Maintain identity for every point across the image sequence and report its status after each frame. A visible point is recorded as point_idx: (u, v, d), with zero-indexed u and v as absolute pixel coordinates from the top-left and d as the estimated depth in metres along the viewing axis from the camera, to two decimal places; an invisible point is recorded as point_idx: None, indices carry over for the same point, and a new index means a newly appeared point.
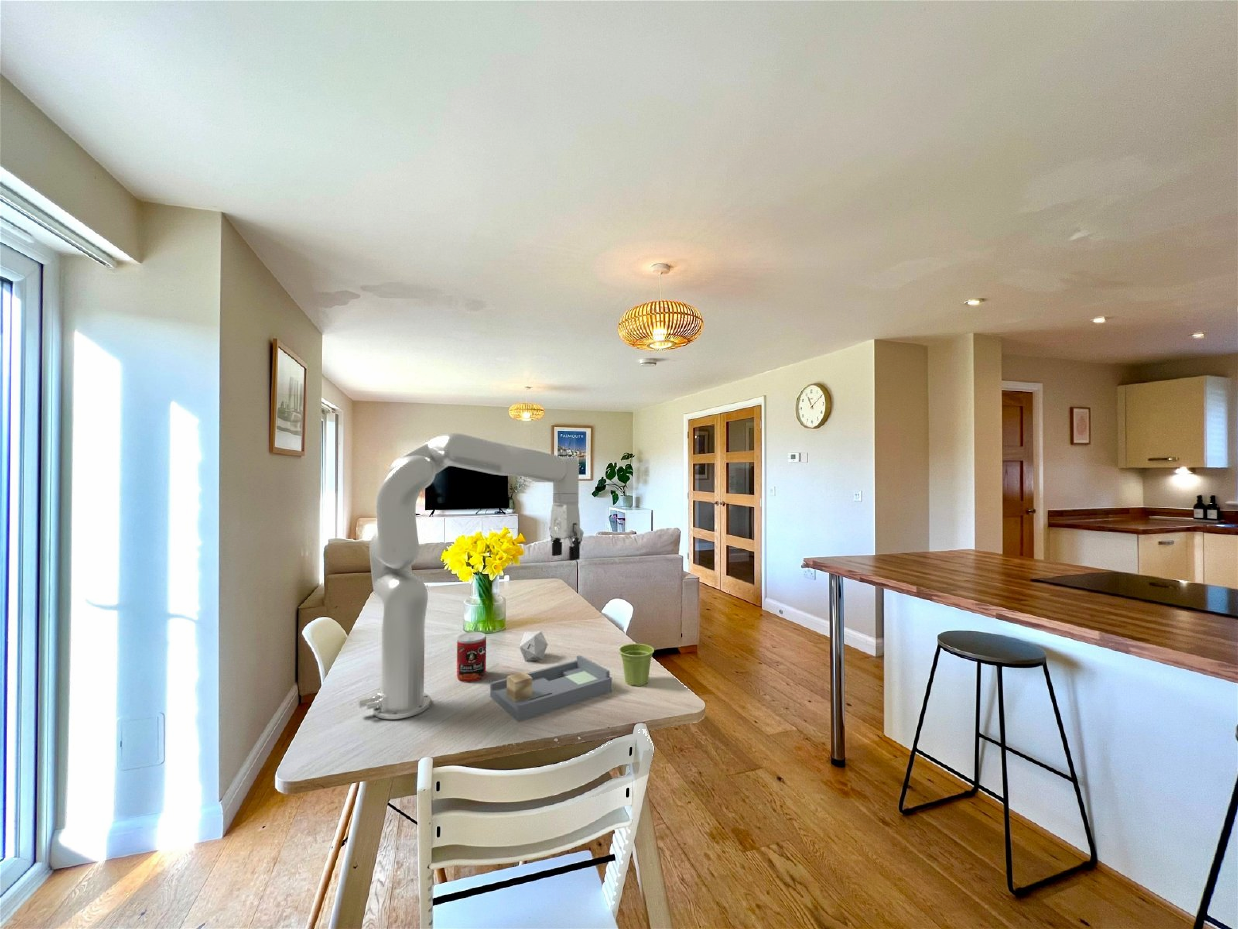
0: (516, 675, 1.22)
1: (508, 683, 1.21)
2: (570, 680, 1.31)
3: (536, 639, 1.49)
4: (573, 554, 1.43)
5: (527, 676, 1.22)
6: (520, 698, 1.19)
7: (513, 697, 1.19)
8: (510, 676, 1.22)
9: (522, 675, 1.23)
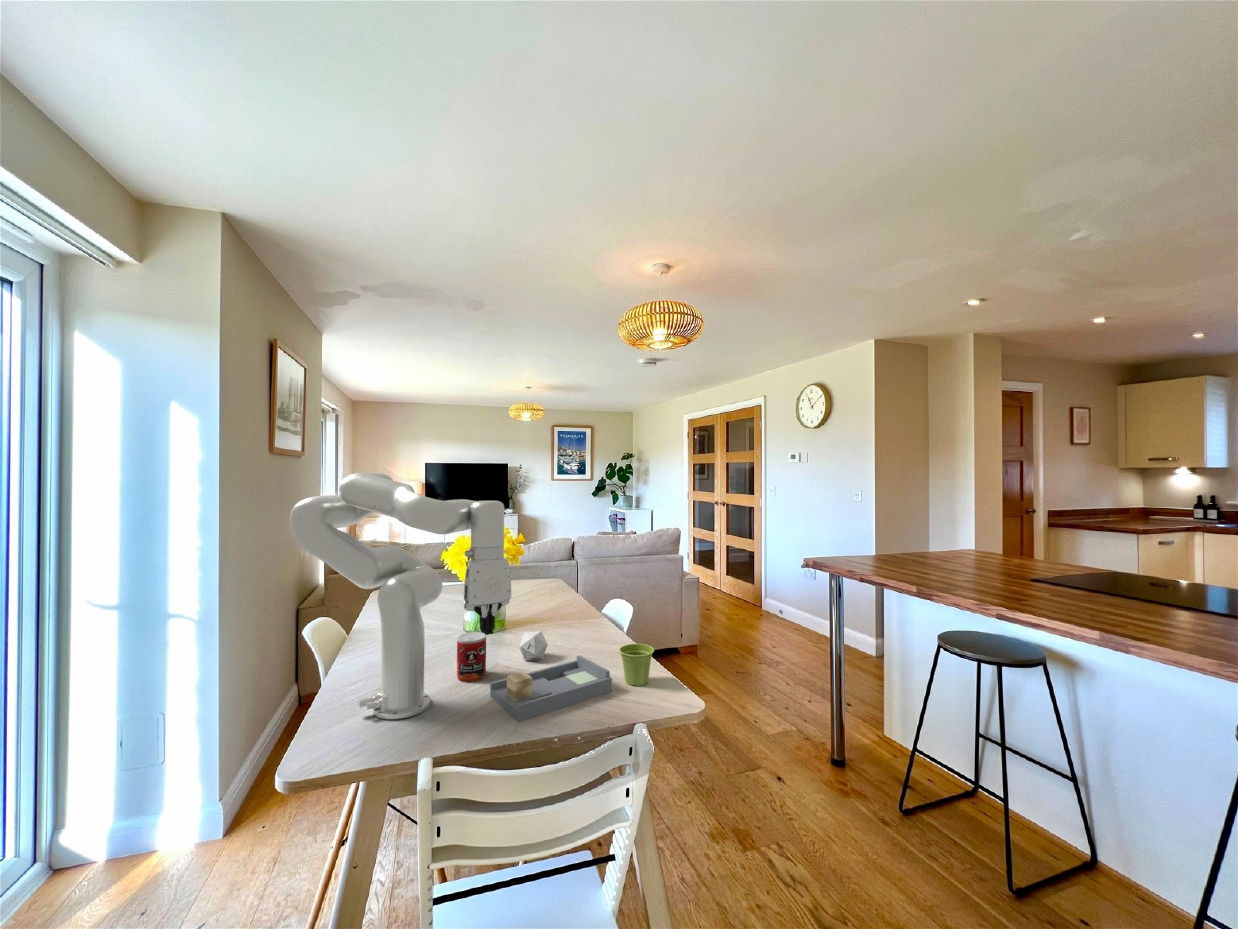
0: (516, 675, 1.22)
1: (508, 683, 1.21)
2: (570, 680, 1.31)
3: (536, 639, 1.49)
4: (493, 625, 1.17)
5: (527, 676, 1.22)
6: (520, 698, 1.19)
7: (513, 697, 1.19)
8: (510, 676, 1.22)
9: (522, 675, 1.23)
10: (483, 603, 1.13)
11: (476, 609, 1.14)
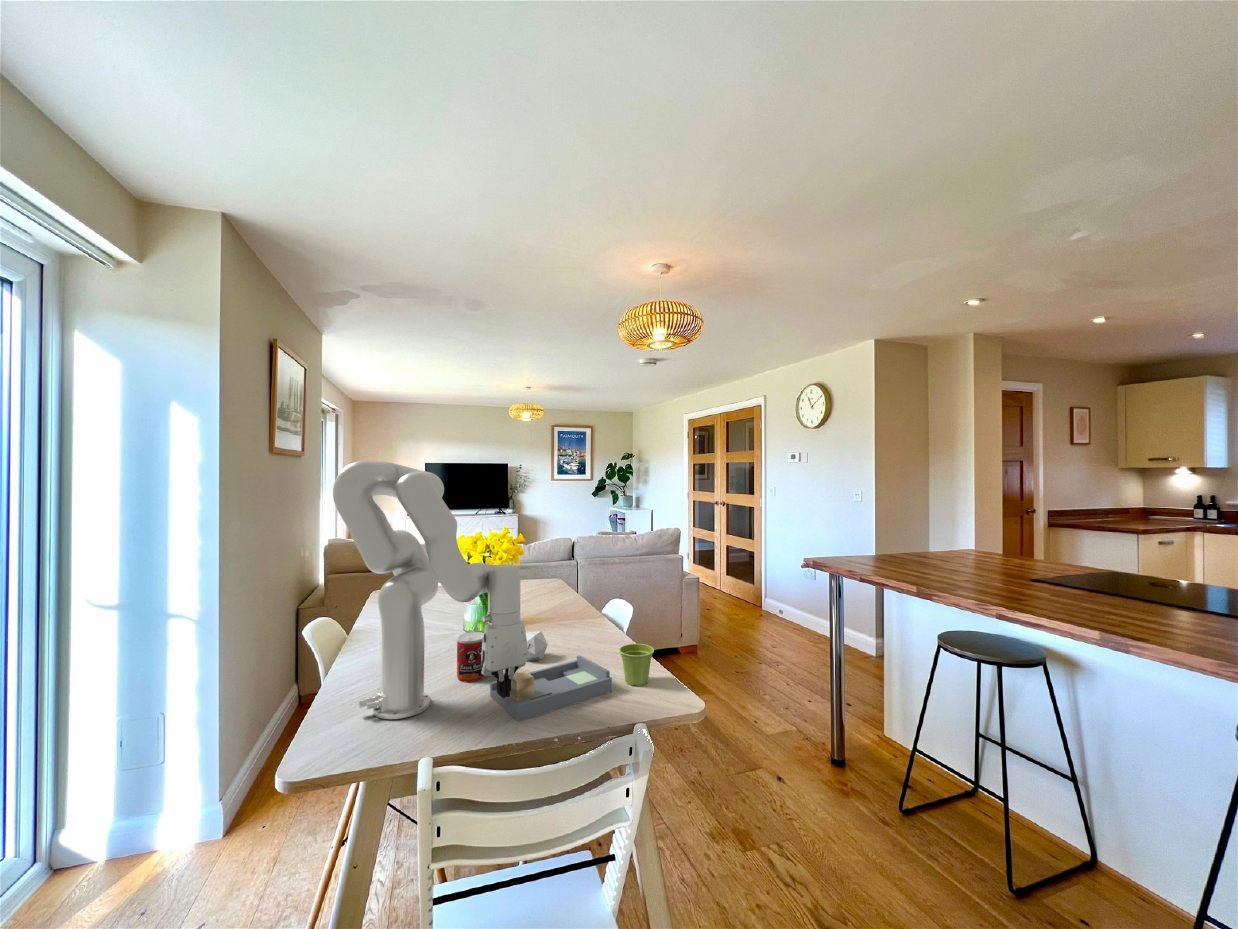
0: (517, 675, 1.23)
1: None
2: (570, 680, 1.31)
3: (536, 639, 1.49)
4: (509, 688, 1.19)
5: (529, 675, 1.22)
6: (522, 697, 1.20)
7: (515, 696, 1.19)
8: None
9: (523, 674, 1.23)
10: (500, 668, 1.16)
11: (493, 673, 1.17)
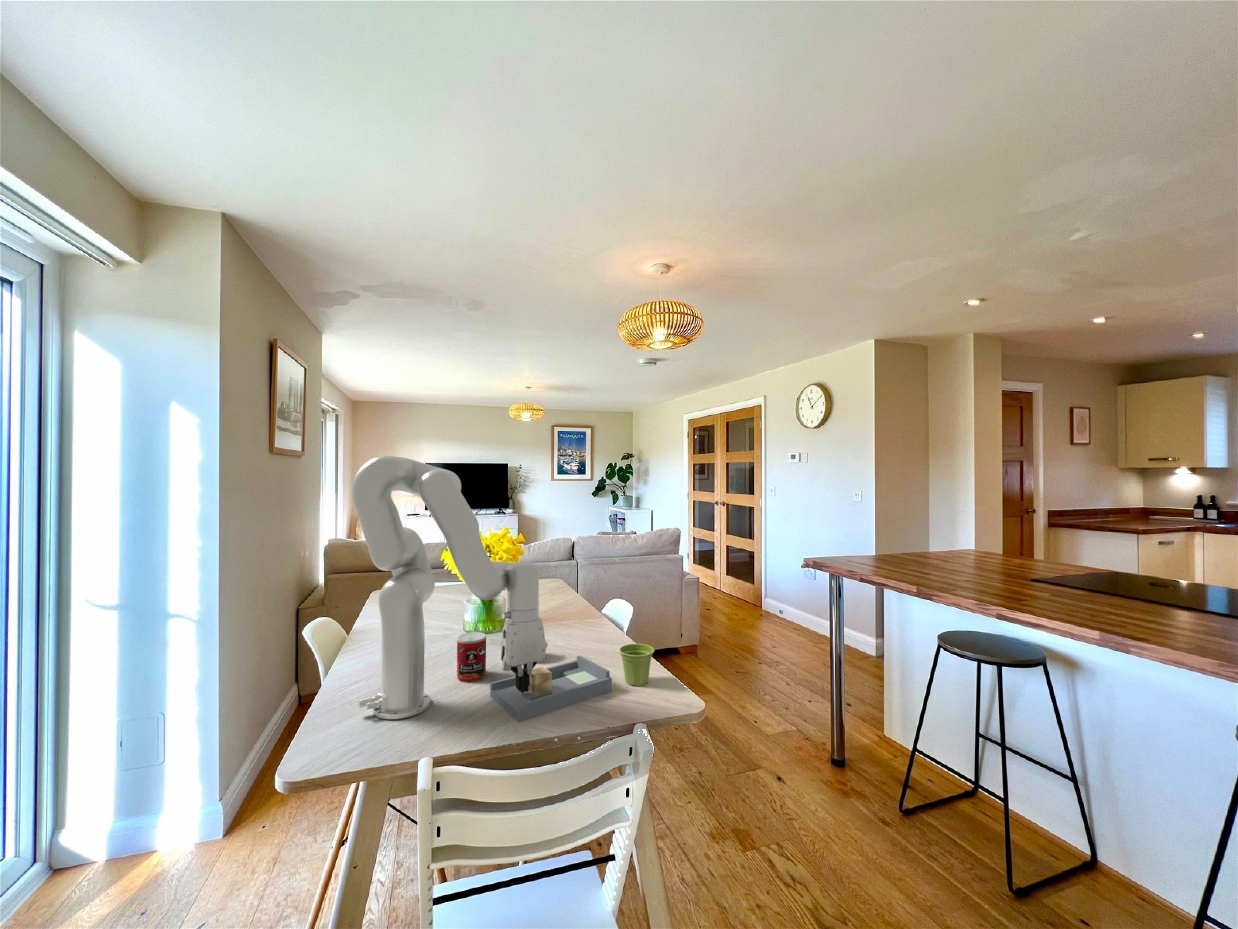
0: (535, 670, 1.26)
1: None
2: (570, 680, 1.31)
3: None
4: None
5: (547, 670, 1.25)
6: (540, 692, 1.23)
7: (533, 691, 1.22)
8: None
9: (541, 670, 1.26)
10: (520, 663, 1.19)
11: (513, 669, 1.20)
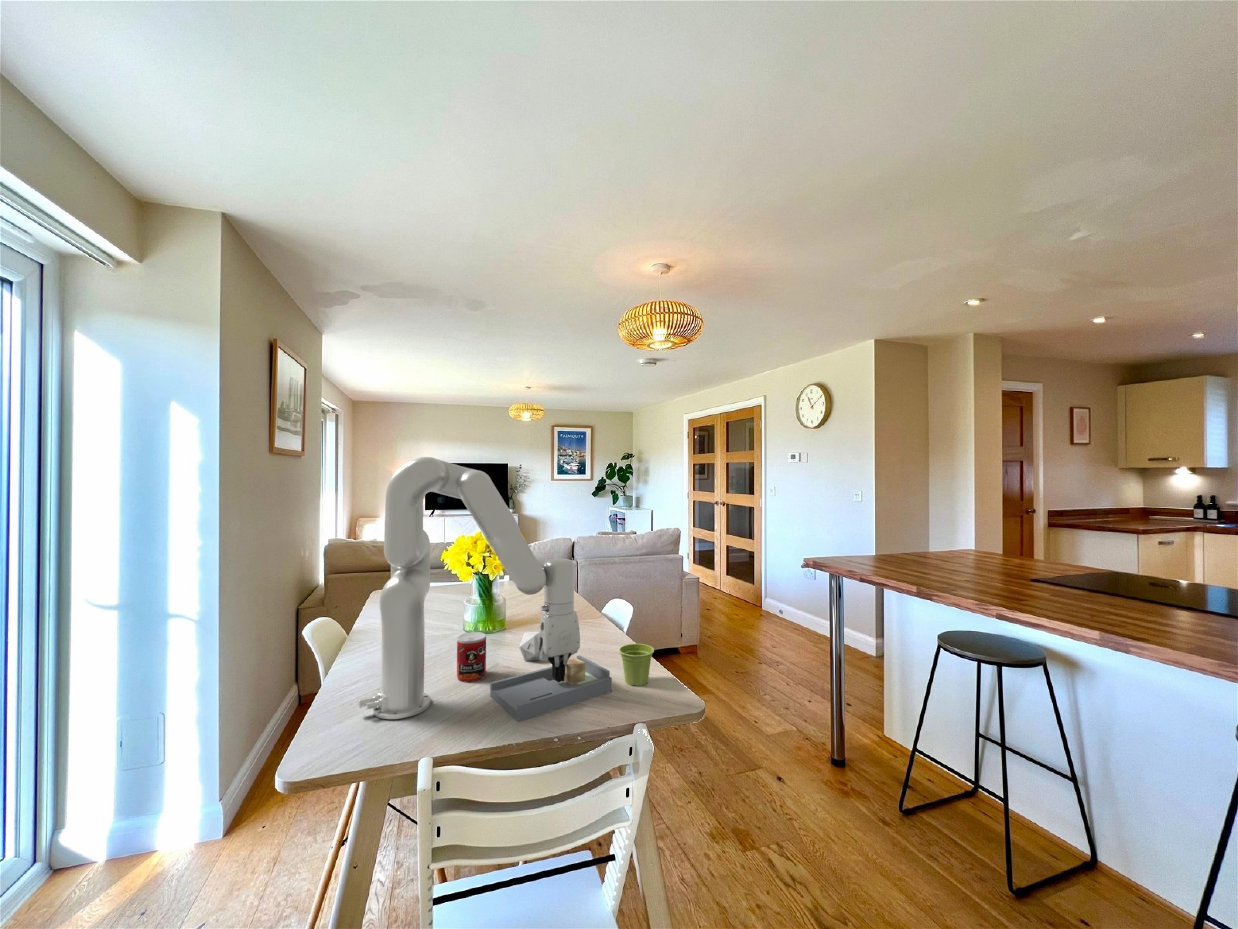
0: (569, 661, 1.32)
1: None
2: None
3: (536, 639, 1.49)
4: None
5: (580, 661, 1.32)
6: (575, 681, 1.29)
7: (569, 681, 1.29)
8: None
9: (575, 660, 1.32)
10: (557, 654, 1.25)
11: (550, 659, 1.26)
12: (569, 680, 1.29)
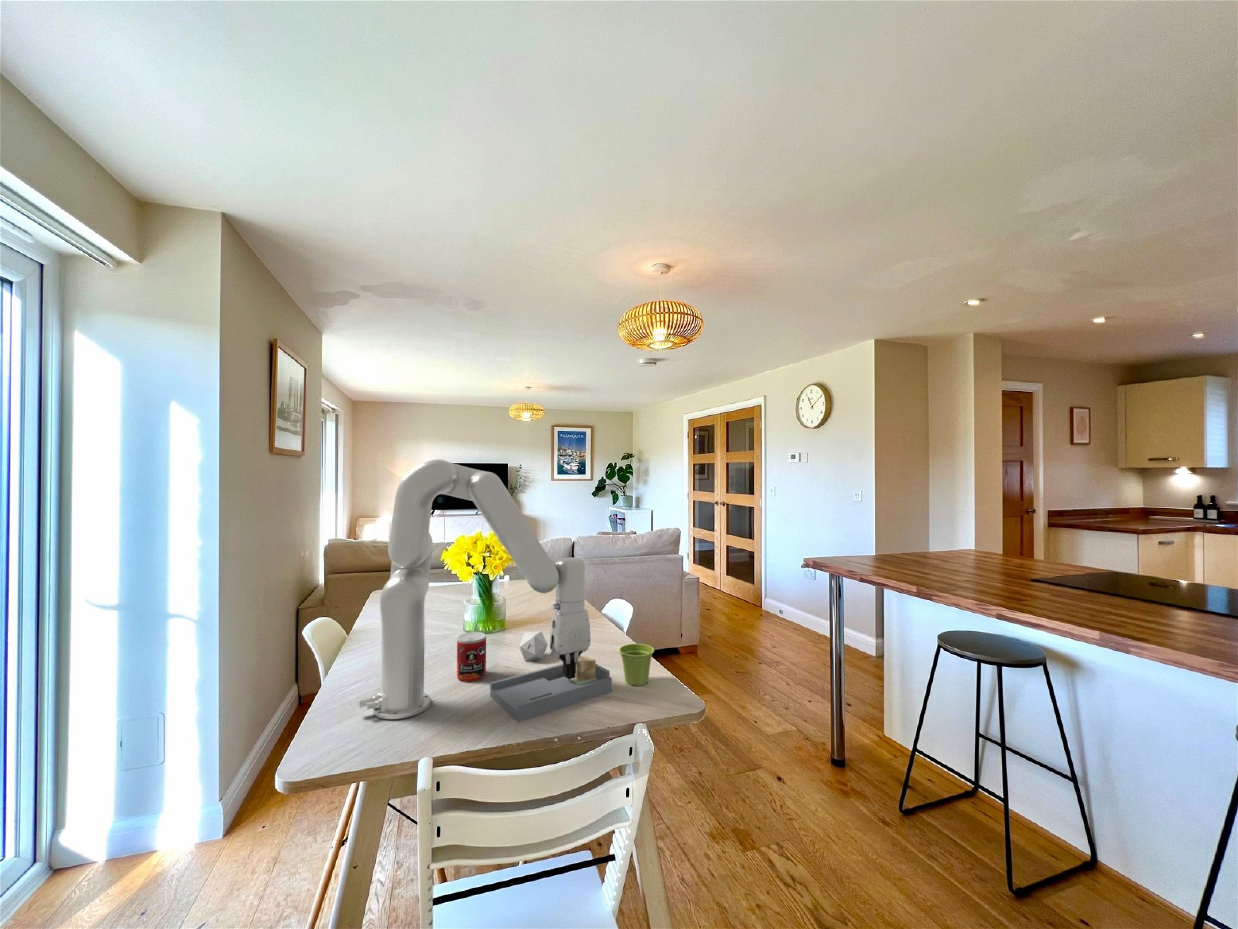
0: (580, 658, 1.34)
1: None
2: (570, 680, 1.31)
3: (536, 639, 1.49)
4: None
5: (591, 659, 1.34)
6: (585, 679, 1.31)
7: (579, 678, 1.31)
8: None
9: (585, 658, 1.34)
10: (568, 652, 1.27)
11: (561, 657, 1.28)
12: (579, 677, 1.30)
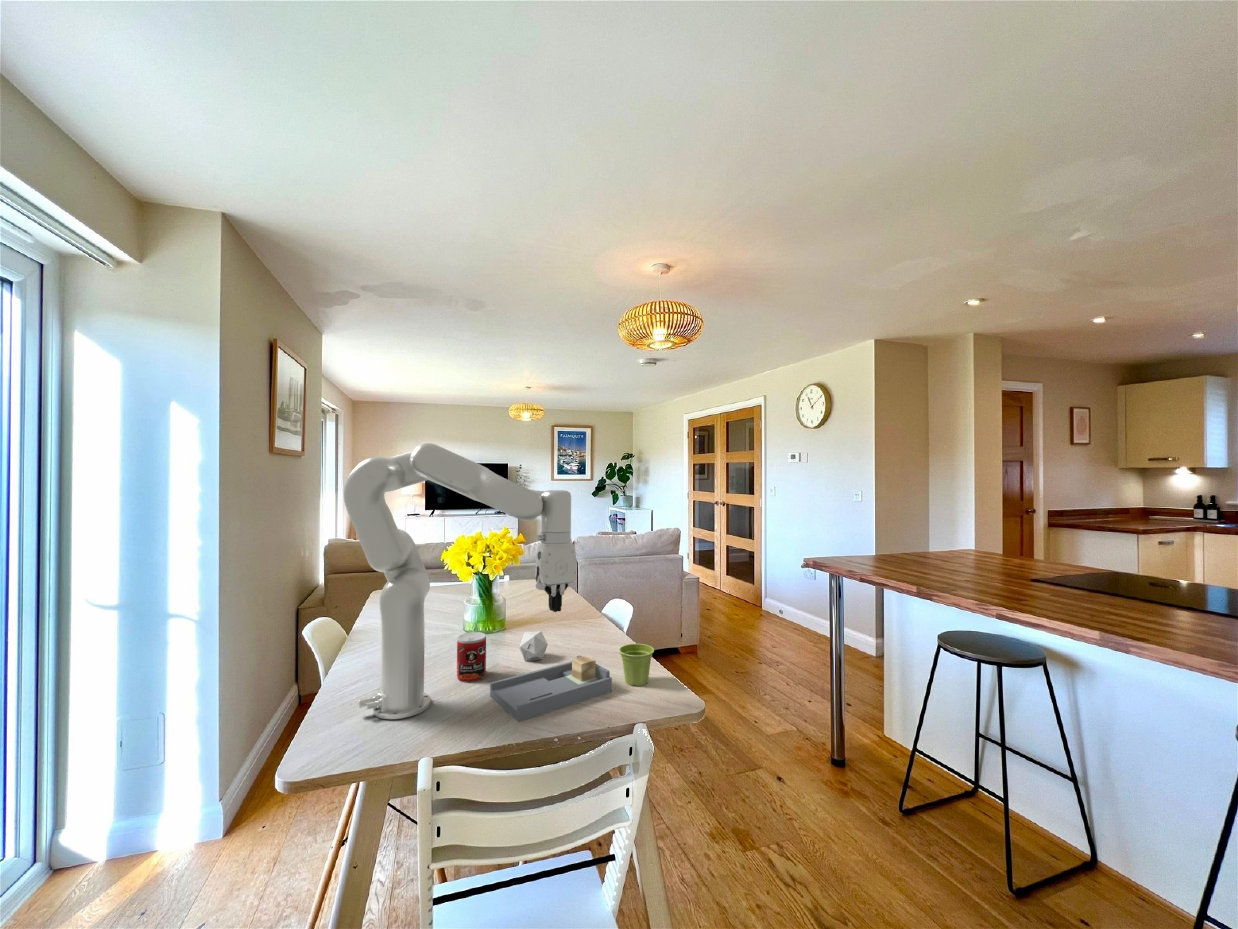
0: (580, 658, 1.34)
1: (573, 665, 1.33)
2: (570, 680, 1.31)
3: (536, 639, 1.49)
4: None
5: (591, 659, 1.34)
6: (585, 679, 1.31)
7: (579, 678, 1.31)
8: (575, 659, 1.33)
9: (585, 658, 1.34)
10: (553, 583, 1.25)
11: (547, 588, 1.26)
12: (579, 677, 1.30)
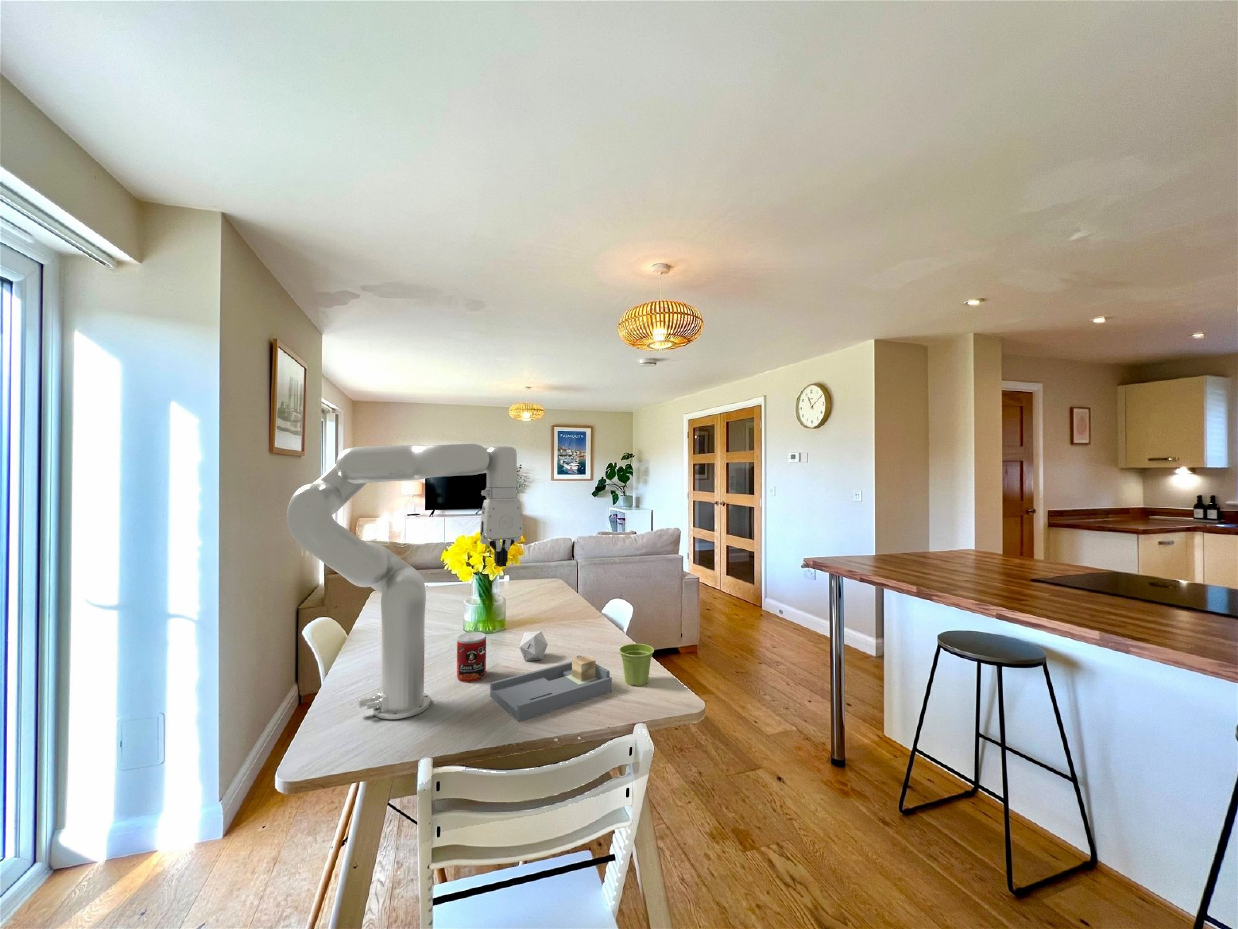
0: (580, 658, 1.34)
1: (573, 665, 1.33)
2: (570, 680, 1.31)
3: (536, 639, 1.49)
4: None
5: (591, 659, 1.34)
6: (585, 679, 1.31)
7: (579, 678, 1.31)
8: (575, 659, 1.33)
9: (585, 658, 1.34)
10: (498, 537, 1.25)
11: (491, 543, 1.26)
12: (579, 677, 1.30)
